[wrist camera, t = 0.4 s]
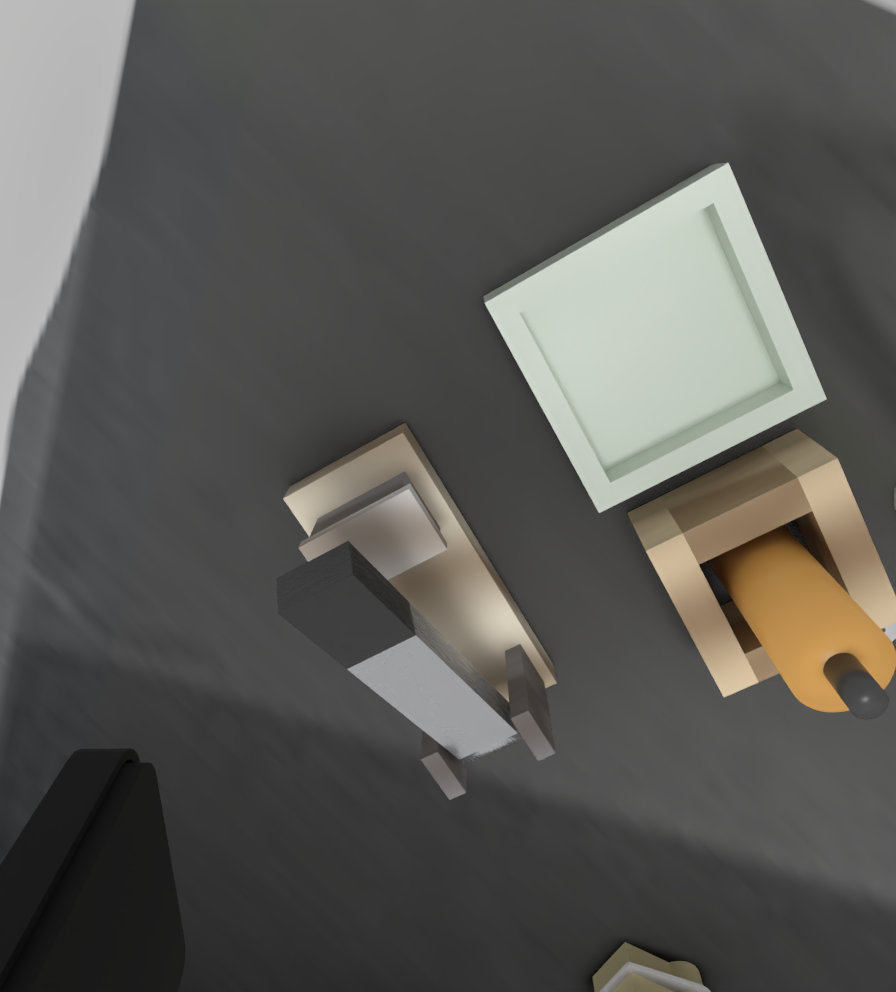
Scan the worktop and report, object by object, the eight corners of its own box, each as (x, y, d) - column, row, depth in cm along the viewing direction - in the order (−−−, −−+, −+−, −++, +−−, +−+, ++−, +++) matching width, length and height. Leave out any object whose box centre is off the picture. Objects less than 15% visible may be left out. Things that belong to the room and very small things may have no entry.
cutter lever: (518, 711, 35) (528, 743, 34) (463, 736, 36) (470, 769, 35) (347, 539, 26) (353, 576, 25) (276, 577, 26) (278, 615, 25)
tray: (807, 387, 34) (826, 399, 32) (592, 496, 36) (599, 513, 34) (712, 163, 31) (728, 162, 29) (483, 296, 33) (484, 303, 31)
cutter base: (553, 665, 39) (569, 753, 33) (446, 714, 40) (442, 809, 34) (405, 422, 35) (392, 472, 29) (290, 486, 36) (254, 548, 30)
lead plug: (797, 557, 37) (943, 721, 25) (723, 591, 37) (834, 766, 26) (767, 493, 36) (906, 636, 24) (692, 530, 36) (793, 685, 25)
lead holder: (860, 574, 37) (905, 618, 33) (698, 647, 38) (723, 697, 35) (797, 428, 34) (837, 458, 31) (626, 512, 36) (645, 551, 32)
